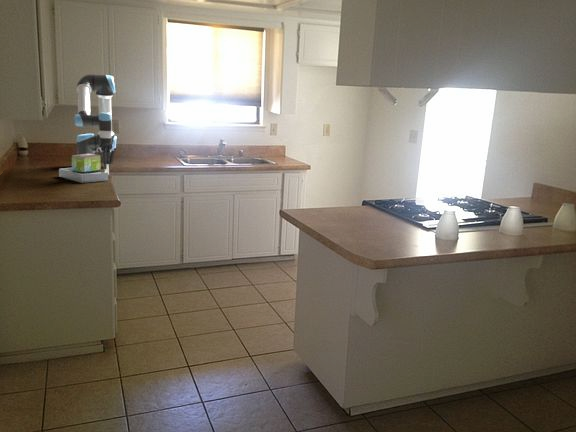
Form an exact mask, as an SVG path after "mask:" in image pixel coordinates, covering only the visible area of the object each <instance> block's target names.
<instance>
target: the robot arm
mask: <svg viewBox="0 0 576 432" xmlns="http://www.w3.org/2000/svg"><path fill="white" fill-rule="evenodd" d="M114 80H115V79H114V76H112V75H108V74H93V73H92V74H86V75H84V76H82V77H81V78H80V79H79V80H78V82H77V83H76V92H77V114H76V113H75V114H74V125H75V126H76V127H83V128H84V127H87V128H89V127H91V128H92V127H95V128H96V127H97V128H98V130H99V131H98V132H97V134H96V135H95V134H94V133H85V134H83V133H82V134H78V135H77V136H76V155H80V154H95V153H97V155H100V163H101V164H102V165H103V168H102V169H103V170H104V172H107V173H108V175H110V169H111V166H110V165H111V164H113V163H114V157H115V152H116V150H117V149H116V147H117V135H115V132H113V121H112V120H113V116H112V113H113V111H112V97H114V94H115V93H116V86H115V82H114ZM92 93H95V95H96V96H97V97H98V114H91V94H92Z"/></svg>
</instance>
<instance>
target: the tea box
mask: <svg viewBox="0 0 576 432" xmlns="http://www.w3.org/2000/svg"><path fill="white" fill-rule="evenodd" d="M101 164H102V163H100V155H98V154H80V155H77V154H72V155H71V168H72V171H73V172H77V173H81V174H91V173H102V172H101Z"/></svg>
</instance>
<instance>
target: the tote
mask: <svg viewBox="0 0 576 432" xmlns="http://www.w3.org/2000/svg"><path fill="white" fill-rule="evenodd" d="M59 177H60V178H64V179H66V180H70V181H74V182H78V183H80V184H84V183H85V184H86V183H96V182H98V183H99V182H106V181H109V174H108V173H107V172H105V171H104V172H101V173H91V174H81V173H77V172H73V171H72V167H65V168H58V178H59Z"/></svg>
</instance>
